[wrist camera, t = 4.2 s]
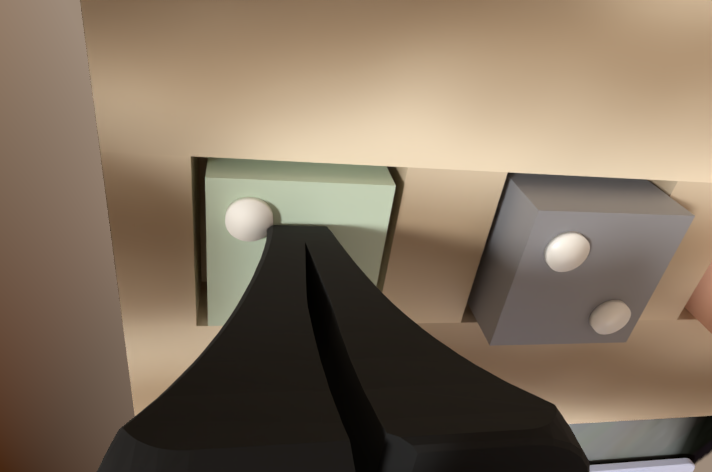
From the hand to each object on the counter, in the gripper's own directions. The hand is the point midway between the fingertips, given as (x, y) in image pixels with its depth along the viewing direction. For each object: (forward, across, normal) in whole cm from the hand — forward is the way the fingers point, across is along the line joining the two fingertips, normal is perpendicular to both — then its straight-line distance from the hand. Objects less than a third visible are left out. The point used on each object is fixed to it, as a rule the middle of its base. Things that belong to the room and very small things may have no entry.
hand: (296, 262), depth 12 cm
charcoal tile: (+1, -7, 0) cm, 7 cm away
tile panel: (+3, -7, 0) cm, 8 cm away
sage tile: (+2, 0, 0) cm, 2 cm away
